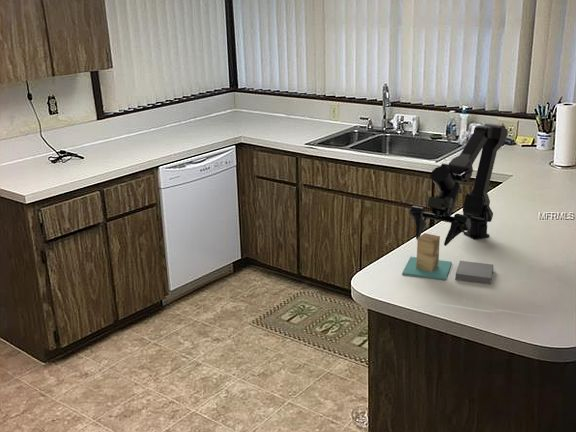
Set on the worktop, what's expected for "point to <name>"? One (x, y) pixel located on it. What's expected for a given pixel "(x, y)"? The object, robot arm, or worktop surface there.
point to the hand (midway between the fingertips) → (430, 242)
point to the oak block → (427, 252)
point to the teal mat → (437, 273)
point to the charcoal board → (474, 272)
